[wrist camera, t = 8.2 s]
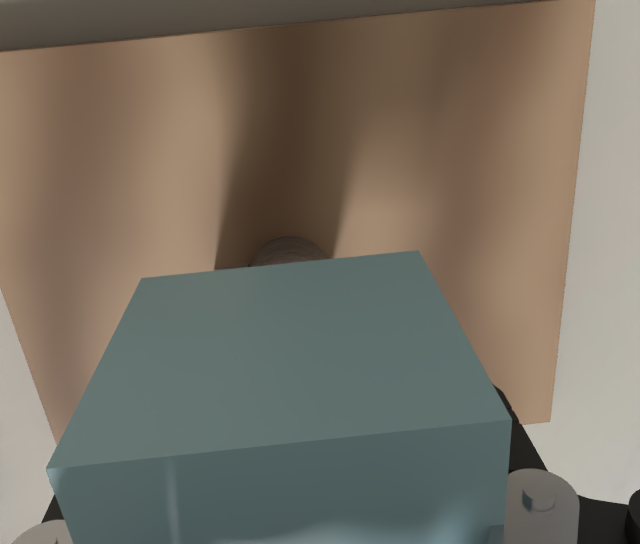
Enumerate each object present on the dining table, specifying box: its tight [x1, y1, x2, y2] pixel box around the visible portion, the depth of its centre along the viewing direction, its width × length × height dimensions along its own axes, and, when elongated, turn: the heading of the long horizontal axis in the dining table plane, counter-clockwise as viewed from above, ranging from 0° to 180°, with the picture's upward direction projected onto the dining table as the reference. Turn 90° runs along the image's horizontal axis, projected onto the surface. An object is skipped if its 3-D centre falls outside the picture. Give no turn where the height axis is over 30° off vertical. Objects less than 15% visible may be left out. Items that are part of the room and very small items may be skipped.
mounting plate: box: [0, 0, 596, 445], centre depth 21 cm, size 20×16×2 cm
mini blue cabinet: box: [46, 250, 512, 544], centre depth 12 cm, size 6×6×6 cm
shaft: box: [213, 236, 327, 271], centre depth 19 cm, size 4×3×4 cm
